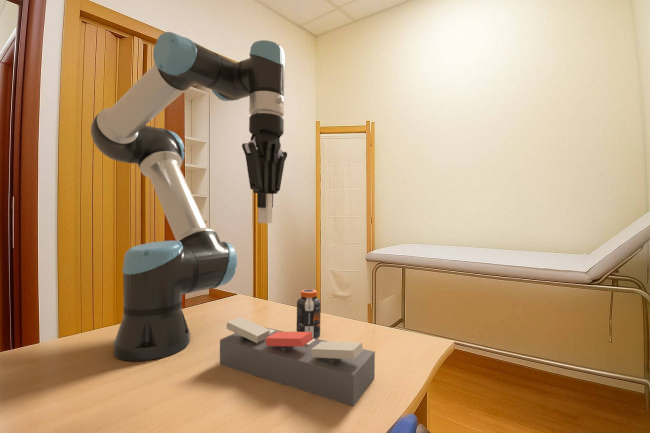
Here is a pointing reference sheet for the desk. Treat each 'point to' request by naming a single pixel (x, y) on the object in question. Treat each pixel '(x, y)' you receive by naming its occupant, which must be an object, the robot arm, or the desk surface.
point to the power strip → (301, 367)
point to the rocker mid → (289, 339)
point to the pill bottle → (309, 312)
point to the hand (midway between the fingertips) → (265, 222)
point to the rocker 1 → (248, 329)
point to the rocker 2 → (337, 350)
